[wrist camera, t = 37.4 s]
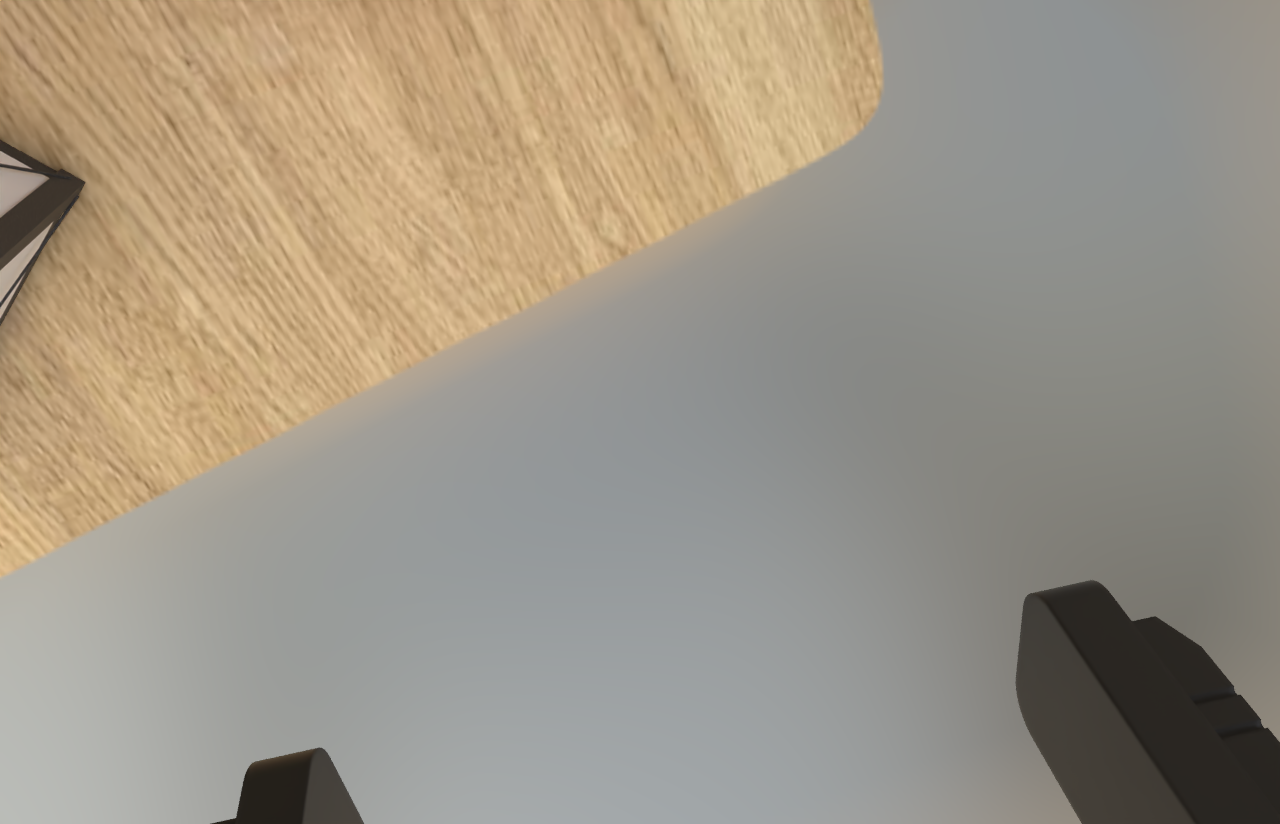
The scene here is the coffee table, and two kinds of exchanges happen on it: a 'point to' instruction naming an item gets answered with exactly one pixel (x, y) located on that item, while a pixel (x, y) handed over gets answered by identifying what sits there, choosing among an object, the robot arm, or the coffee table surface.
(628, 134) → the coffee table surface
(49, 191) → the lantern
